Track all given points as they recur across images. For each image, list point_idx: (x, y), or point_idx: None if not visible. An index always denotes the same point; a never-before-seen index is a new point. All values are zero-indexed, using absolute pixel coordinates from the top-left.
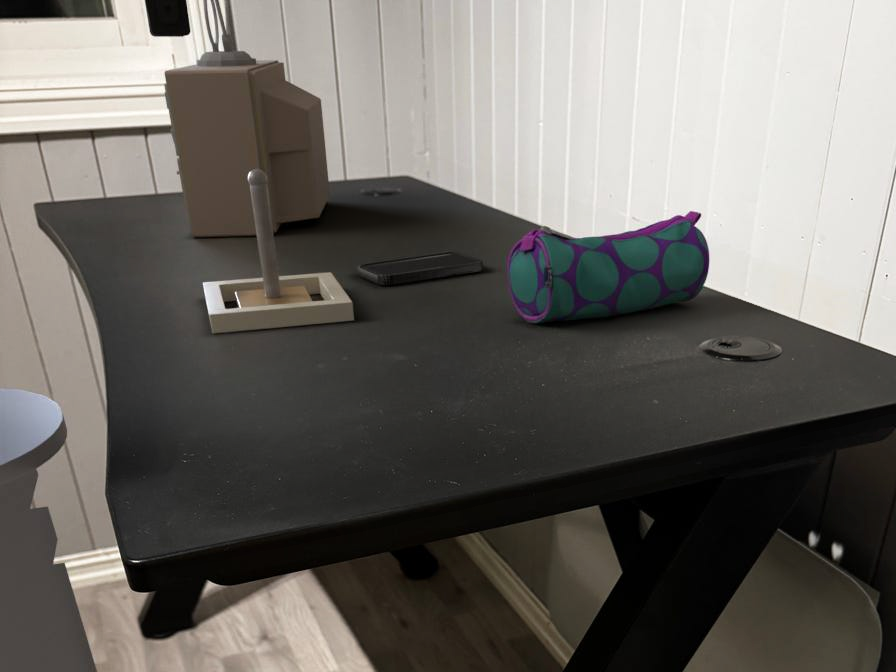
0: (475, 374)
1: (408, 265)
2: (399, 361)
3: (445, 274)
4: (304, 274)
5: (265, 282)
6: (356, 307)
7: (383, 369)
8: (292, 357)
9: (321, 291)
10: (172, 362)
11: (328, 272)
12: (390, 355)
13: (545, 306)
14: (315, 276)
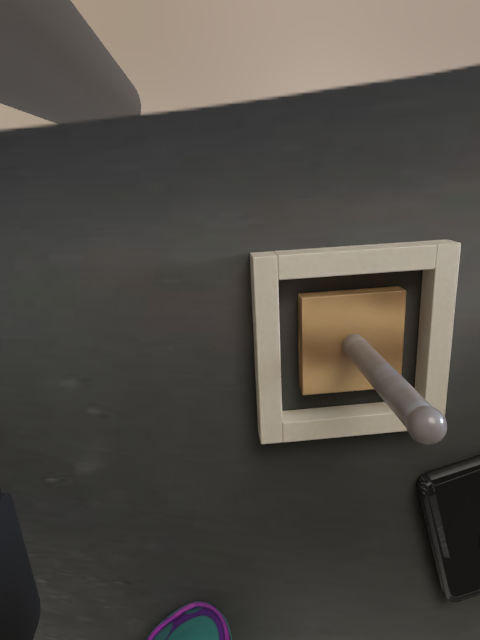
0: None
1: (475, 519)
2: (70, 465)
3: (433, 552)
4: (446, 392)
5: (352, 344)
6: None
7: (42, 447)
8: (112, 352)
9: None
10: (122, 200)
11: None
12: (96, 458)
13: (157, 635)
14: None
